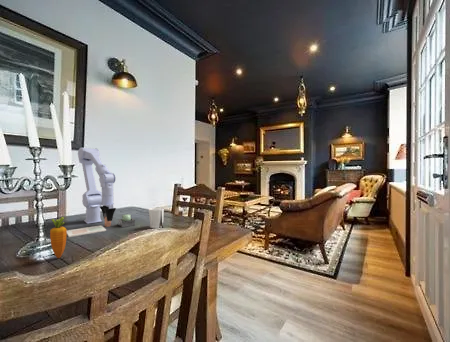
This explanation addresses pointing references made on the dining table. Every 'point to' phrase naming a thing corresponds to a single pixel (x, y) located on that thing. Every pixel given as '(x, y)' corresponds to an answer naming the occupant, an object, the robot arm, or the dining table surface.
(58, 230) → the carrot
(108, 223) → the marker
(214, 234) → the dining table surface
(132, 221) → the frame
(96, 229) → the picture sheet
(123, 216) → the button
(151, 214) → the white cup
